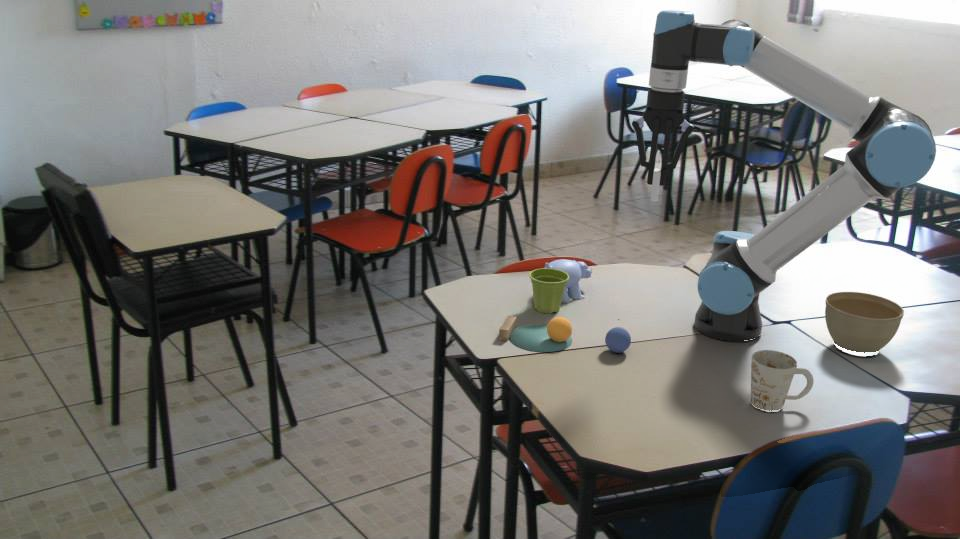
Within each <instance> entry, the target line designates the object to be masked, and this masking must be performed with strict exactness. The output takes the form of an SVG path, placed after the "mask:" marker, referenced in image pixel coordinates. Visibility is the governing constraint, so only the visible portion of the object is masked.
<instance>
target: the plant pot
mask: <svg viewBox="0 0 960 539" xmlns="http://www.w3.org/2000/svg"><path fill="white" fill-rule="evenodd" d="M528 276H529V279H530V282H531V284H532V286H531V287H532V296H533V299H532V300H533V309H535V310H536V311H537V312H539V313H542V314H552V313H558V312H559V311H560V309H561V304H562V302H561V301H562V296H563V292H564V288H565V285H566V283H567V281H568V280H569V275H568V274H567V273H566V272H564V271H561V270H557V269H551V268H544V267H542V268H536V269H534V270H531V271H530V272H529V275H528Z"/></svg>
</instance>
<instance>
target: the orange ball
mask: <svg viewBox="0 0 960 539" xmlns="http://www.w3.org/2000/svg"><path fill="white" fill-rule="evenodd" d="M547 325H548V326H547V333H548V336H549V337H550V338H551V339H552V340H553V341H555V342H564V341H566V340H568V339H569V337H570V336H571V337H572V334H573V327H572V324H571V322H570V321H569V320H568V319H567V318H565V317H561V316H558V317H554V318H552V319H551V320H550V321H549V322H548V323H547Z"/></svg>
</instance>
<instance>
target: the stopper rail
mask: <svg viewBox="0 0 960 539" xmlns="http://www.w3.org/2000/svg"><path fill="white" fill-rule="evenodd" d="M515 328H517V316H513V315H507V317H506V318H505V319H504V322H503V323H502V325H501V326H500V328H499V330H498V331H499V333H498V340H499V341H500V340H501V341H506V342H508V341H510V339H509V337H510V336H511V334H512V332H513V330H514V329H515Z"/></svg>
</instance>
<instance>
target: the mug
mask: <svg viewBox="0 0 960 539" xmlns="http://www.w3.org/2000/svg"><path fill="white" fill-rule="evenodd" d="M750 361H751V362H750V363H751V364H750V365H751V367H750V368H751V369H750V404H751V403H752V404H753V405H754V406H755V407H757V408H760V409H764V410H769V411H770V410H771V411H772V410H779V409H781V408H782V407H784V405H785V402H786V400H789V401H790V400H791V401H795V400H800V399H803V398H804V397H805V396H807V395H808V394H809V393H810V391H811V390H812V388H813V386H814V376H813V374H812V373H811V371H810V370H809V369H807V368H803V367H798V362H797V360H796V359H795V357H793V356H791V355H790V354H787V353H784V352H781V351H778V350H771V349H768V350H767V349H764V350H763V349H761V350H757V351H754V352H753V353H752V354H751V360H750ZM795 375H802V376H804V377H805V379H806V385H805V387H804V388H803V390H801V391H800V392H799V393H798V394H796V395H795V394H794V395H793V394H788V393H789V390H790V387H791V385H792V382H793V379H794V377H795ZM782 409H783V408H782Z"/></svg>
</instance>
